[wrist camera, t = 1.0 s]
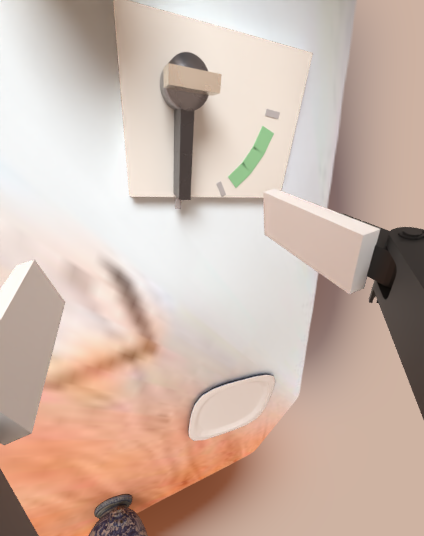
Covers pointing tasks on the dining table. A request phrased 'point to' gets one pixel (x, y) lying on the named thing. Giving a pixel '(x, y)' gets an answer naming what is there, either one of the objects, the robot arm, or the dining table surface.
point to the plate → (230, 406)
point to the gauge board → (207, 105)
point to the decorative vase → (117, 518)
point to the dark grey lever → (186, 110)
